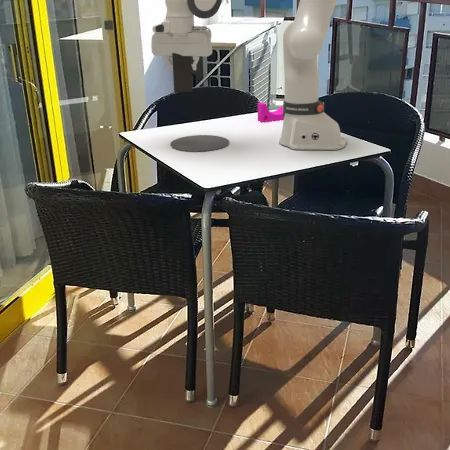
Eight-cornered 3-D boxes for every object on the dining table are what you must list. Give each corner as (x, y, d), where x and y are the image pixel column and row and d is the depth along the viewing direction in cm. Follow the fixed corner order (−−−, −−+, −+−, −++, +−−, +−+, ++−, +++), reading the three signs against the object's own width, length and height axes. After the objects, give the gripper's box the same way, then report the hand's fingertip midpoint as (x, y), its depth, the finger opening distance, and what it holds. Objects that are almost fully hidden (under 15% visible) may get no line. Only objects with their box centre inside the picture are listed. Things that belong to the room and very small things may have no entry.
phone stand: (192, 91, 207) (190, 53, 203) (174, 92, 207) (171, 54, 203) (192, 86, 216) (190, 50, 211) (174, 87, 216) (172, 51, 211)
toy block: (290, 116, 252) (290, 97, 250) (297, 120, 247) (297, 100, 244) (255, 120, 248) (255, 101, 245) (261, 124, 242) (261, 104, 240)
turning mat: (236, 138, 223) (236, 136, 223) (218, 153, 206) (218, 152, 206) (183, 135, 229) (183, 133, 229) (161, 149, 212) (161, 148, 212)
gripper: (214, 25, 204) (215, 69, 209) (155, 25, 210) (158, 67, 215) (207, 27, 198) (209, 72, 204) (147, 27, 205) (151, 70, 210)
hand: (182, 69), depth 210 cm, fingers closed on phone stand, 6 cm apart
